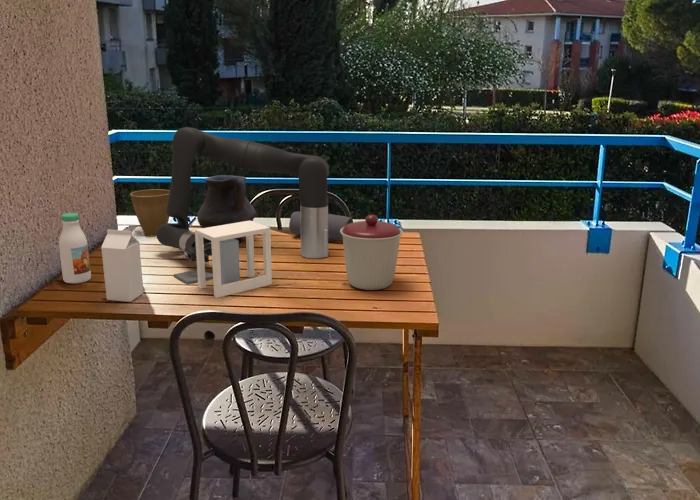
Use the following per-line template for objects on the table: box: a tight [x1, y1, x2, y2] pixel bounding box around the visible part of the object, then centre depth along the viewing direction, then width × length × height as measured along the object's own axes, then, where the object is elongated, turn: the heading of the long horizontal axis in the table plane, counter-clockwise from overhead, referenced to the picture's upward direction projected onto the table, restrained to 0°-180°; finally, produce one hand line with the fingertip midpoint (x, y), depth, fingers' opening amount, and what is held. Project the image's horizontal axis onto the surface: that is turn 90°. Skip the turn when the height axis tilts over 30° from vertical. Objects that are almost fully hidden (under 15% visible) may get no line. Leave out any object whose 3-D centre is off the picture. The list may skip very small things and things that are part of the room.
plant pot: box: [130, 188, 170, 237], centre depth 237 cm, size 15×15×16 cm
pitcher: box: [196, 174, 257, 243], centre depth 227 cm, size 21×22×25 cm
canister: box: [340, 214, 404, 291], centre depth 183 cm, size 18×18×21 cm
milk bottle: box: [58, 212, 92, 284], centre depth 185 cm, size 8×8×20 cm
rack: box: [194, 220, 273, 299], centre depth 182 cm, size 11×18×17 cm, turn 130°
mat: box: [173, 269, 213, 286], centre depth 191 cm, size 9×9×1 cm
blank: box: [219, 238, 241, 285], centre depth 185 cm, size 5×5×13 cm
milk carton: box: [100, 229, 144, 302], centre depth 172 cm, size 7×7×19 cm
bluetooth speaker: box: [288, 211, 354, 242], centre depth 233 cm, size 23×9×10 cm, turn 67°
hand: (220, 256), depth 188 cm, fingers open, 8 cm apart
